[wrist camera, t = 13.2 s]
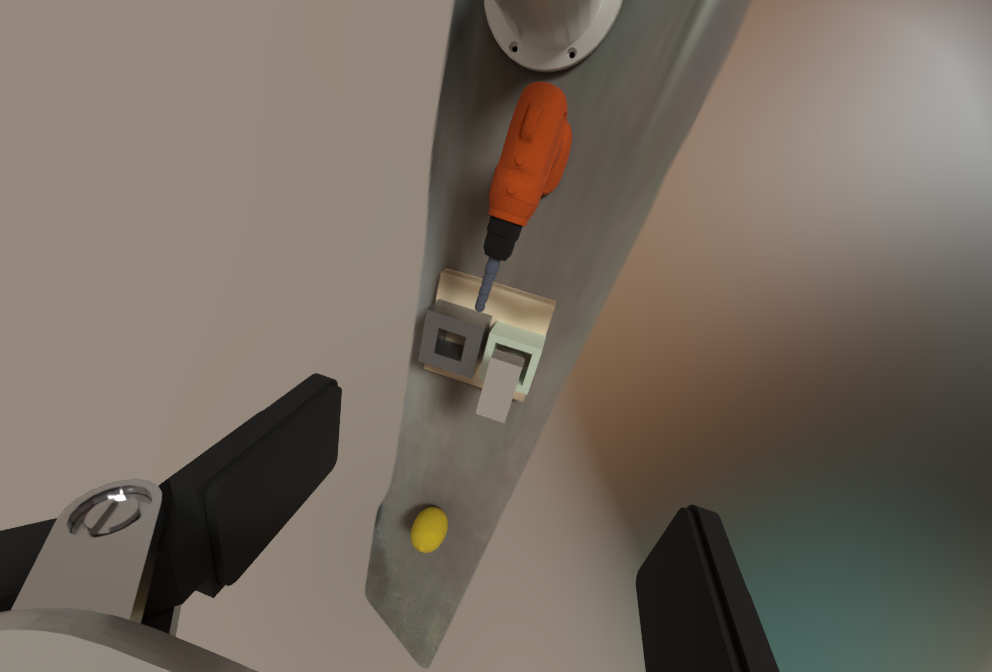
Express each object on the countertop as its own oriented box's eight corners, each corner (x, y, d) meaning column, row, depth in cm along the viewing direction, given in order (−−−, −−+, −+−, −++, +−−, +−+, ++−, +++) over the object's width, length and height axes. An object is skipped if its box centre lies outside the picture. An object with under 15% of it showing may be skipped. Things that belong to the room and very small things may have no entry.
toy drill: (482, 282, 45) (442, 308, 31) (535, 111, 39) (515, 45, 25) (520, 296, 44) (498, 329, 30) (580, 125, 38) (586, 66, 24)
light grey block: (509, 321, 45) (490, 357, 37) (535, 329, 45) (522, 367, 36) (496, 369, 49) (475, 413, 40) (520, 377, 48) (504, 423, 39)
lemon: (460, 511, 63) (443, 554, 56) (441, 525, 66) (423, 568, 59) (435, 491, 63) (415, 532, 56) (417, 505, 65) (396, 546, 58)
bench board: (446, 267, 47) (440, 271, 45) (556, 301, 45) (555, 306, 43) (429, 362, 53) (423, 368, 51) (525, 394, 51) (523, 402, 50)
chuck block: (439, 298, 46) (426, 309, 43) (492, 315, 46) (484, 327, 42) (430, 347, 49) (417, 361, 46) (480, 363, 49) (471, 379, 45)
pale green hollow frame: (497, 320, 46) (489, 333, 42) (546, 335, 45) (542, 349, 42) (486, 363, 49) (478, 378, 45) (532, 378, 48) (527, 394, 44)
